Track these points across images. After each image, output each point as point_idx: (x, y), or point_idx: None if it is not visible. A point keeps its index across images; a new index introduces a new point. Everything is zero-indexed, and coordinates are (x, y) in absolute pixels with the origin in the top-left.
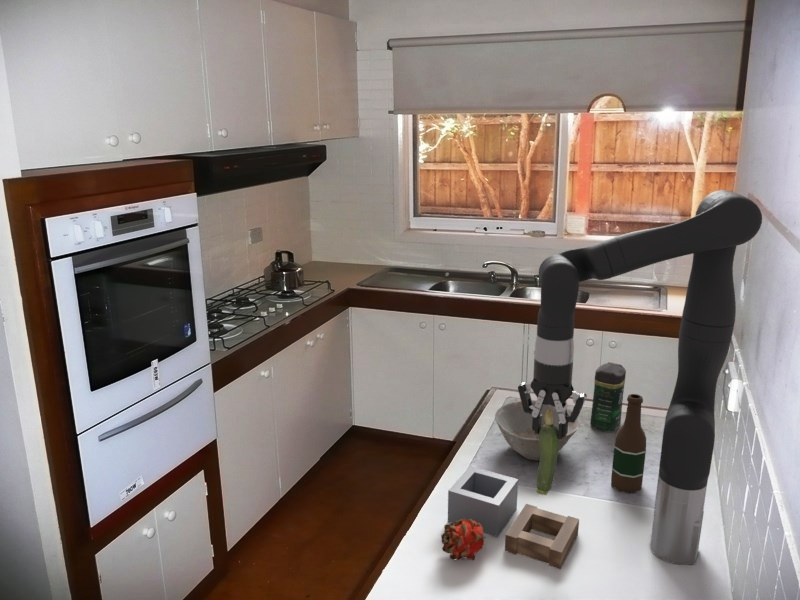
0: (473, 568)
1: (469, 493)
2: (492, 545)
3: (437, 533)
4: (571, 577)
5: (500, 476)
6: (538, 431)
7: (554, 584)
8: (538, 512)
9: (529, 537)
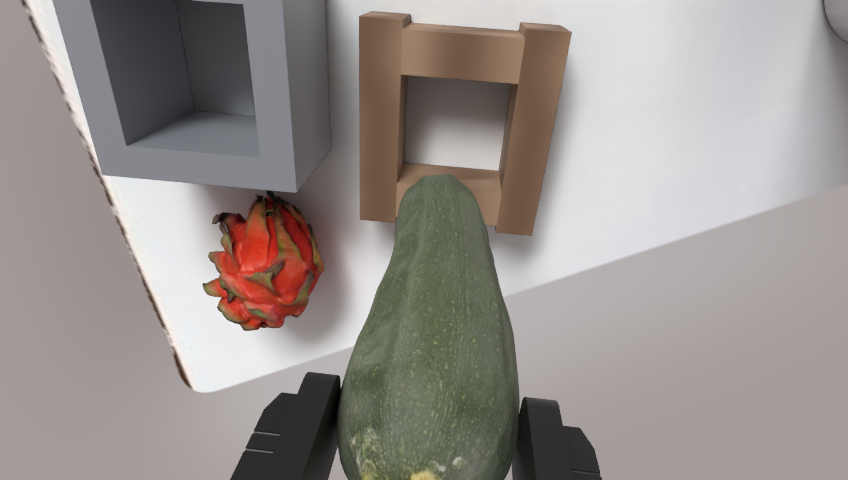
0: (329, 280)
1: (172, 163)
2: (332, 186)
3: (184, 196)
4: (557, 227)
5: None
6: (335, 440)
7: (519, 264)
8: (418, 57)
9: None
